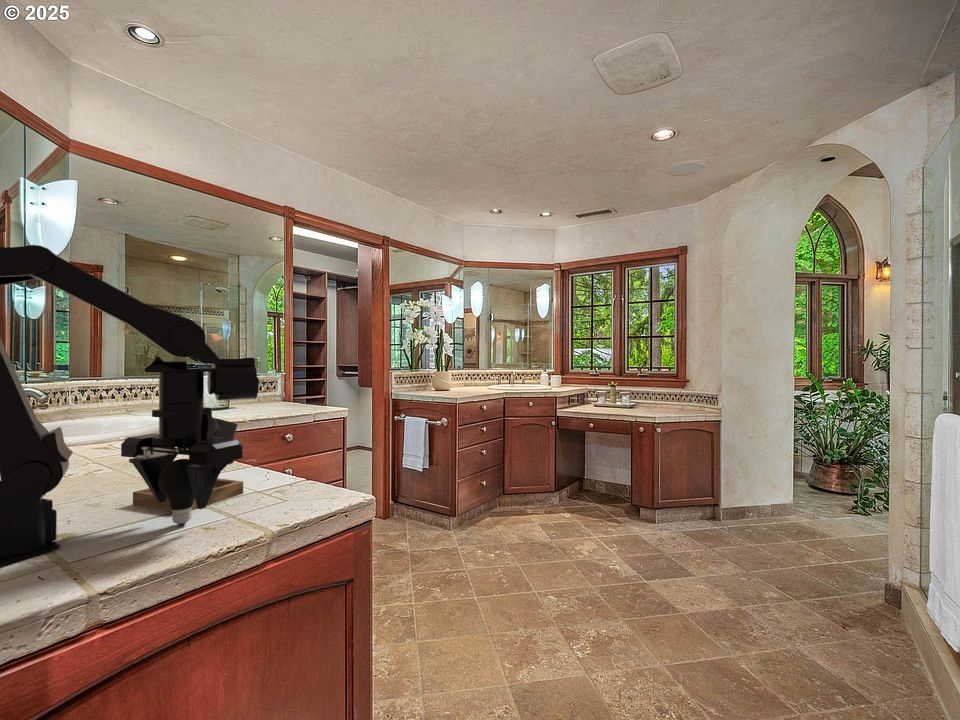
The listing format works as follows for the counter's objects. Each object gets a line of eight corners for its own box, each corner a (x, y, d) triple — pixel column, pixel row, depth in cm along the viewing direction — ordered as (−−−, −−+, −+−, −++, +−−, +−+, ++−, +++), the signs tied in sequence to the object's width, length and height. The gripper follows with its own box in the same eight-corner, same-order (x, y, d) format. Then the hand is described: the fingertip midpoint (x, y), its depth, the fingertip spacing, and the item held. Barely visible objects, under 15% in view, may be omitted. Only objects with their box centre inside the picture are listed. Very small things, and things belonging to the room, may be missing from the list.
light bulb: (188, 532, 68) (188, 463, 68) (148, 532, 68) (148, 463, 68) (212, 518, 74) (212, 455, 74) (175, 518, 74) (175, 455, 74)
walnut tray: (183, 513, 76) (182, 499, 76) (132, 504, 80) (132, 492, 80) (243, 493, 88) (243, 481, 88) (196, 486, 92) (196, 475, 92)
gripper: (270, 399, 75) (270, 496, 75) (187, 396, 82) (186, 485, 82) (209, 406, 65) (209, 519, 65) (118, 401, 71) (118, 504, 71)
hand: (181, 505), depth 71 cm, fingers open, 8 cm apart
